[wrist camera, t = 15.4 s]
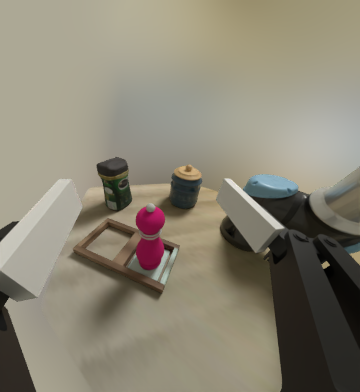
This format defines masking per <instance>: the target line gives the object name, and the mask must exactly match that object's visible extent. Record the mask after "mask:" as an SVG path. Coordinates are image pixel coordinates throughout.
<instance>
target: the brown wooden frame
mask: <svg viewBox="0 0 360 392" xmlns="http://www.w3.org/2000/svg"><path fill="white" fill-rule="evenodd" d="M108 226H111V227H114V228H116V229H119V230H121V231H124V232H126V233H129V234H132V235H133V236H132V237H131V238H130V240H129V241H128V242H127V244H126V245H125V246H124V247H123V249H122V250H121V251H120V252H119V254H118V255H117V256H116V257H115V259H114V260H113V261H111V260H109V259H107V258H104V257H102V256H100V255H98V254H95V253H93V252H91V251H89V250H87V249H85V248H86V247H87V246H88V245H89V244H90V243H91V242H92V241H93V240H95V239H96V238H97V237H98V236H99V235H100V234H101V233H102V232H103V231H104V230H105V229H106V228H107V227H108ZM160 239H161V238H160ZM140 240H141V236H140V234H139V230H138V229H135V228H132V227H130V226H127V225H125V224H122V223H119V222H117V221H114V220H112V219H109V218H107V219H106V220H105V221H104V222H103V223H102V224H100V225H99V226H98V227H97V228H96V229H95V230H94V231H92V232H91V233H90V234H89V235H88V236H87V237H85V238H84V239H83V240H82V241H81V242H80V243H78V244H77V245H76V246H75V247H74V248H73V251H74V252H75V253H76V254H78V255H80V256H83V257H85V258H87V259H89V260H91V261H93V262H95V263H98V264H100V265H102V266H104V267H106V268H108V269H110V270H113V271H115V272H117V273H119V274H121V275H123V276H125V277H128V278H130V279H132V280H134V281H136V282H138V283H140V284H143V285H145V286H147V287H149V288H151V289H153V290H155V291H158V292H160V293H162V292H163V290H164V287H165V284H166V282H167V279H168V276H169V274H170V271H171V269H172V266H173V263H174V261H175V258H176V255H177V253H178V250H179V246H180V245H177V244H174V243H172V242H169V241H166V240H164V239H161V240H162V242H163V245H164V247H165V248H167V249H170V250H172V251H173V253H172V255H171V257H170V260H169V262H168V265H167V267H166V269H165V272H164V274H163V276H162V279H161V281H160V282H158V281H155V280H153V279H151V278H149V277H146V276H144V275H142V274H140V273H138V272H135V271H133V270H131V269H129V268H127V267H126V265H127V264H128V262H129V261H130V259H131V258H132V256H133V255H134V253H135V252H136V248H137V245H138V242H139V241H140Z"/></svg>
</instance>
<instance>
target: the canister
mask: <svg viewBox="0 0 360 392" xmlns="http://www.w3.org/2000/svg"><path fill="white" fill-rule="evenodd" d="M201 183H202V179H201V173H200V172H199V171H198V170H197V169H195V168H193V167H192V166H191V165H187V166H181V167H179V168H177V169H175V171H174V173H173V174H172V182H171V190H170V196H169V197H170V201H171V203H172V204H173V205H175V206H176V207H179V208H191V207H193V206H194V205H195V204H196V202H197V197H198V194H199V190H200V184H201Z"/></svg>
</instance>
